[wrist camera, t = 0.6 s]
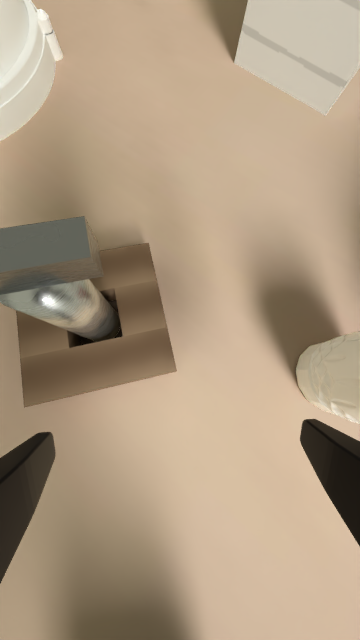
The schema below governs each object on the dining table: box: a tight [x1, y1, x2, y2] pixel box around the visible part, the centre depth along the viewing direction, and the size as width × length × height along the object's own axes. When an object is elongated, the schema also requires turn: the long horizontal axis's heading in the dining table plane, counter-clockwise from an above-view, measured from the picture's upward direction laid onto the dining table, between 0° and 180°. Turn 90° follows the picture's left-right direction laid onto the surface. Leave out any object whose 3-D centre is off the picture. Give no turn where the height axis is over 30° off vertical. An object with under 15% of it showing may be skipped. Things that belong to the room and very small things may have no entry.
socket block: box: [16, 243, 177, 407], centre depth 20 cm, size 12×12×3 cm
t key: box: [0, 216, 121, 342], centre depth 15 cm, size 4×6×14 cm, turn 103°
